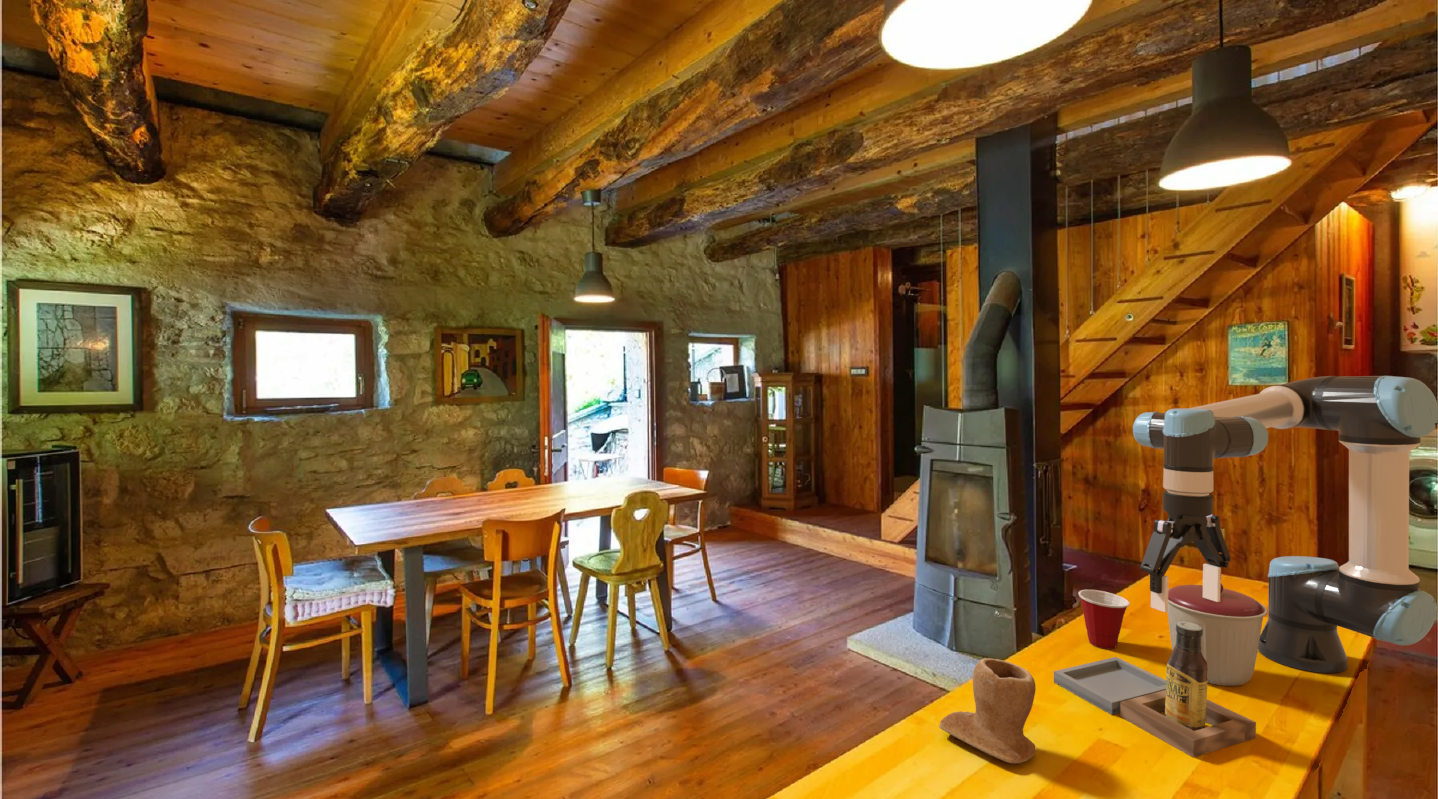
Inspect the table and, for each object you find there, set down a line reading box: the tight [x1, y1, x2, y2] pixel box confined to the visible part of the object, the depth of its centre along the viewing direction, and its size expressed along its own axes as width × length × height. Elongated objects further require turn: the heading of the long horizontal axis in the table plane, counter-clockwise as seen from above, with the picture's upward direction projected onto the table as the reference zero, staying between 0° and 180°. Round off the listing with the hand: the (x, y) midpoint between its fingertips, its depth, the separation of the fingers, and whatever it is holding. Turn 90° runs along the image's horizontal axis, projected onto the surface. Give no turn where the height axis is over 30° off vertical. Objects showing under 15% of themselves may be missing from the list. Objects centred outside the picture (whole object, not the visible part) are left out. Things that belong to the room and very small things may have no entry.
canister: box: [1167, 583, 1268, 687], centre depth 140 cm, size 18×18×21 cm
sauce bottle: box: [1164, 621, 1208, 731], centre depth 120 cm, size 7×6×20 cm
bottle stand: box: [1119, 690, 1257, 758], centre depth 121 cm, size 16×14×3 cm
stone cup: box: [938, 657, 1037, 764], centre depth 117 cm, size 15×12×15 cm
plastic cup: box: [1078, 589, 1130, 650], centre depth 156 cm, size 11×11×12 cm
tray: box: [1053, 656, 1166, 716], centre depth 135 cm, size 18×14×2 cm
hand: (1185, 604), depth 120 cm, fingers open, 13 cm apart
